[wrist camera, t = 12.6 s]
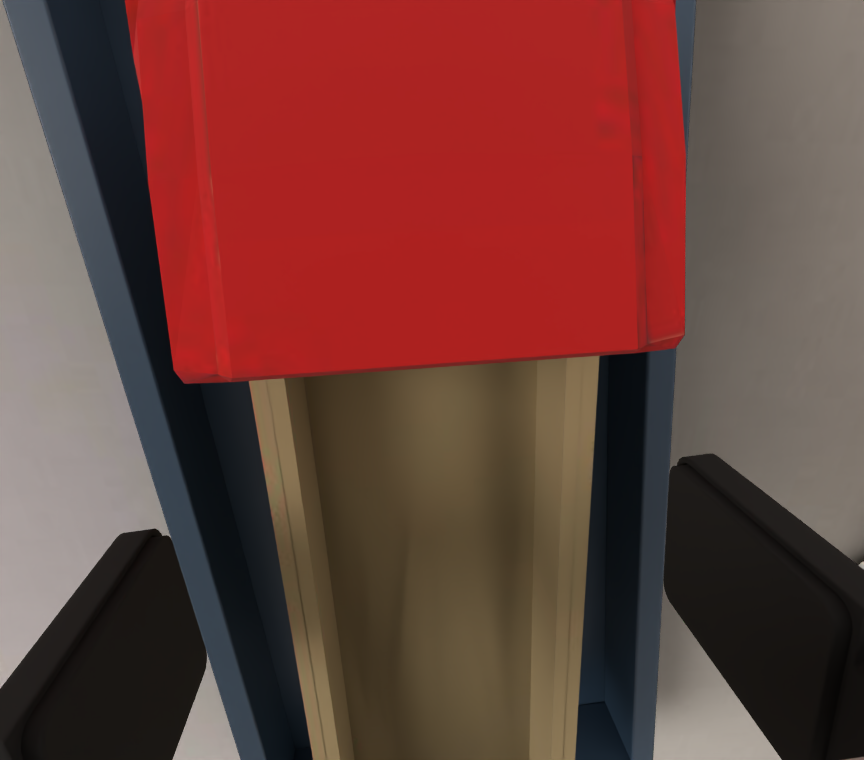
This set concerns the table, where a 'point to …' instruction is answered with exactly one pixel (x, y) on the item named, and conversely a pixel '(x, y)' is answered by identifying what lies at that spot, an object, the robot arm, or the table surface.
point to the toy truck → (420, 323)
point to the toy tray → (238, 438)
